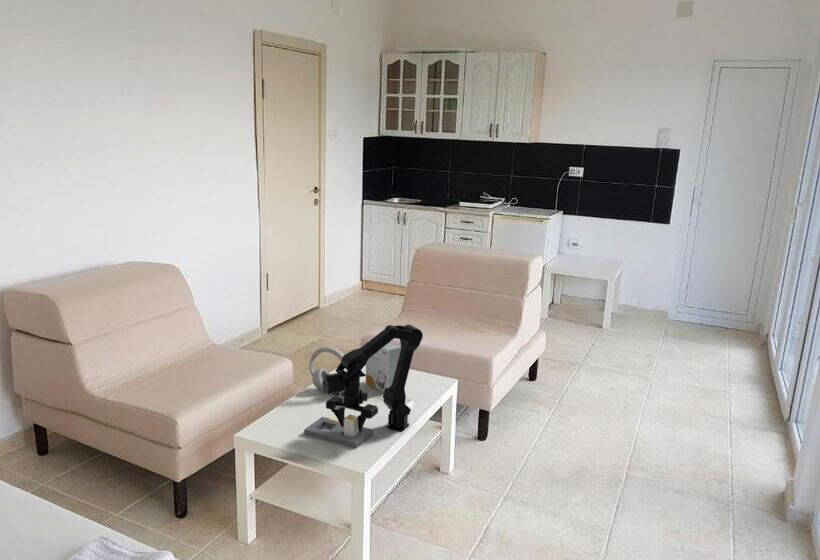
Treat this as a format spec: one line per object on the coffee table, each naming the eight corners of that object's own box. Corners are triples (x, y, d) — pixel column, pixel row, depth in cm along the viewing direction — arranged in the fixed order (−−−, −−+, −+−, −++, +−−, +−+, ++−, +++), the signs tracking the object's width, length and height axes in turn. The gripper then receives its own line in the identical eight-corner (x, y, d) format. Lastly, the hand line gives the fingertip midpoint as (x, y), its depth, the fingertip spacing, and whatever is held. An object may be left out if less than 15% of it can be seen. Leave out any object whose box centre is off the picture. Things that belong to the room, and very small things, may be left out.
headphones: (305, 391, 273) (304, 346, 268) (315, 384, 280) (315, 341, 275) (344, 399, 265) (344, 354, 261) (354, 392, 273) (354, 348, 268)
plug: (359, 436, 234) (359, 415, 232) (353, 441, 231) (353, 419, 229) (349, 434, 236) (349, 412, 234) (343, 438, 232) (343, 417, 230)
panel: (372, 434, 236) (372, 428, 236) (356, 448, 226) (356, 442, 225) (322, 421, 246) (322, 416, 245) (304, 434, 235) (304, 428, 234)
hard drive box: (364, 383, 283) (365, 340, 278) (378, 379, 288) (379, 336, 283) (387, 394, 272) (388, 349, 267) (401, 390, 277) (402, 346, 272)
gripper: (385, 385, 232) (384, 425, 236) (341, 376, 240) (341, 414, 244) (370, 397, 222) (370, 438, 226) (324, 386, 230) (325, 426, 234)
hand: (351, 428), depth 233 cm, fingers open, 7 cm apart
